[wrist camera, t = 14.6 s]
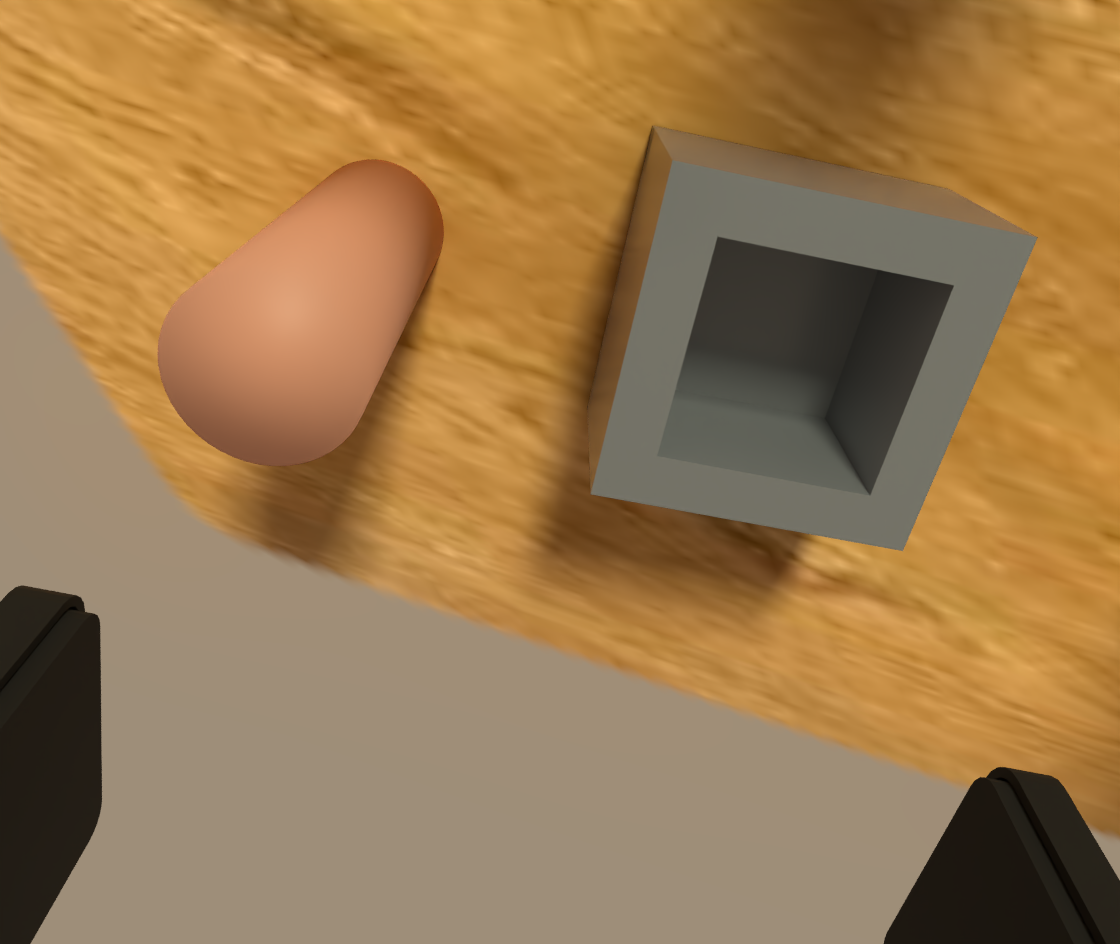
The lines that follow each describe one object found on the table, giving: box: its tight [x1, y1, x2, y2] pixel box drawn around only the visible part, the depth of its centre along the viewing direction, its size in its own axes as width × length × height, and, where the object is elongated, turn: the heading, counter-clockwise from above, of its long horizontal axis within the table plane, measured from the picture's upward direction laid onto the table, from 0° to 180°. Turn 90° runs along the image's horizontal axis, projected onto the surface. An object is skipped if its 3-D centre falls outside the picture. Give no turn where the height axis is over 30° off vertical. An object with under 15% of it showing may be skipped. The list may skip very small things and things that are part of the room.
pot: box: [587, 126, 1038, 551], centre depth 27 cm, size 9×9×6 cm
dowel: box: [158, 160, 444, 466], centre depth 24 cm, size 4×4×12 cm
